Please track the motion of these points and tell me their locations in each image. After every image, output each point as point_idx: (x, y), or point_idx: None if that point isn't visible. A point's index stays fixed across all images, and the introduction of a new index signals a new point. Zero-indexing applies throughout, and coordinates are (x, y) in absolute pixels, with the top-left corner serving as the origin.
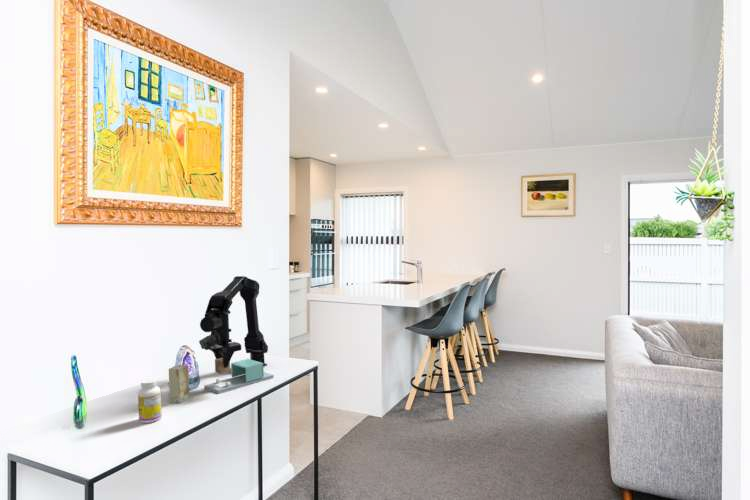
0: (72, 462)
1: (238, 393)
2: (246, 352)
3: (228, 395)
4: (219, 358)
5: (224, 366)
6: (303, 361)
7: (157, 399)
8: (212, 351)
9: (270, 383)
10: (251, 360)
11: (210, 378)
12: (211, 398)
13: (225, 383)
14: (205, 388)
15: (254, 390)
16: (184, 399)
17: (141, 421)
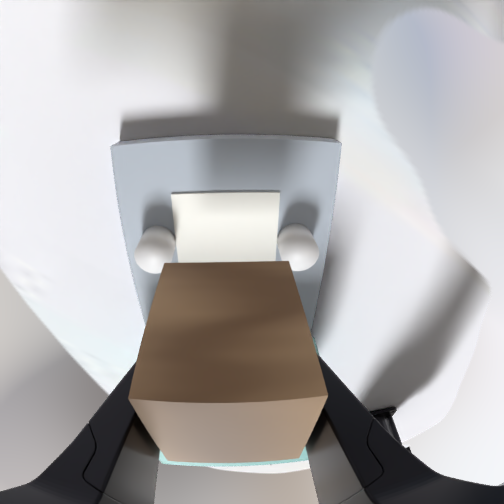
0: None
1: (50, 233)
2: (408, 449)
3: (50, 176)
4: (305, 432)
5: None
6: (267, 472)
7: None
8: (442, 493)
9: (115, 381)
10: (262, 462)
11: (443, 268)
12: (71, 68)
13: (154, 238)
14: (320, 137)
15: (55, 305)
16: None
17: None
